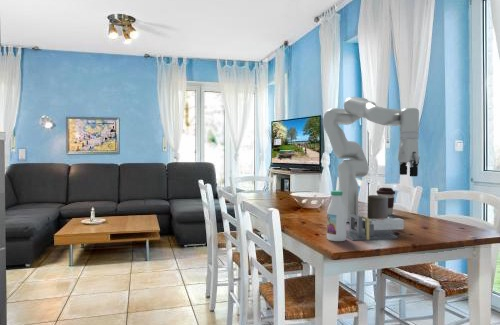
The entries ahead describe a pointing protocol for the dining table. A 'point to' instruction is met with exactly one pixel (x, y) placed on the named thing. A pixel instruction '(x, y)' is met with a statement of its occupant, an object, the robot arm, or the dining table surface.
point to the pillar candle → (377, 207)
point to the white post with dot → (387, 223)
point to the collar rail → (366, 230)
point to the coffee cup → (390, 195)
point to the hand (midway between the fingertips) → (408, 175)
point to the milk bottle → (336, 218)
